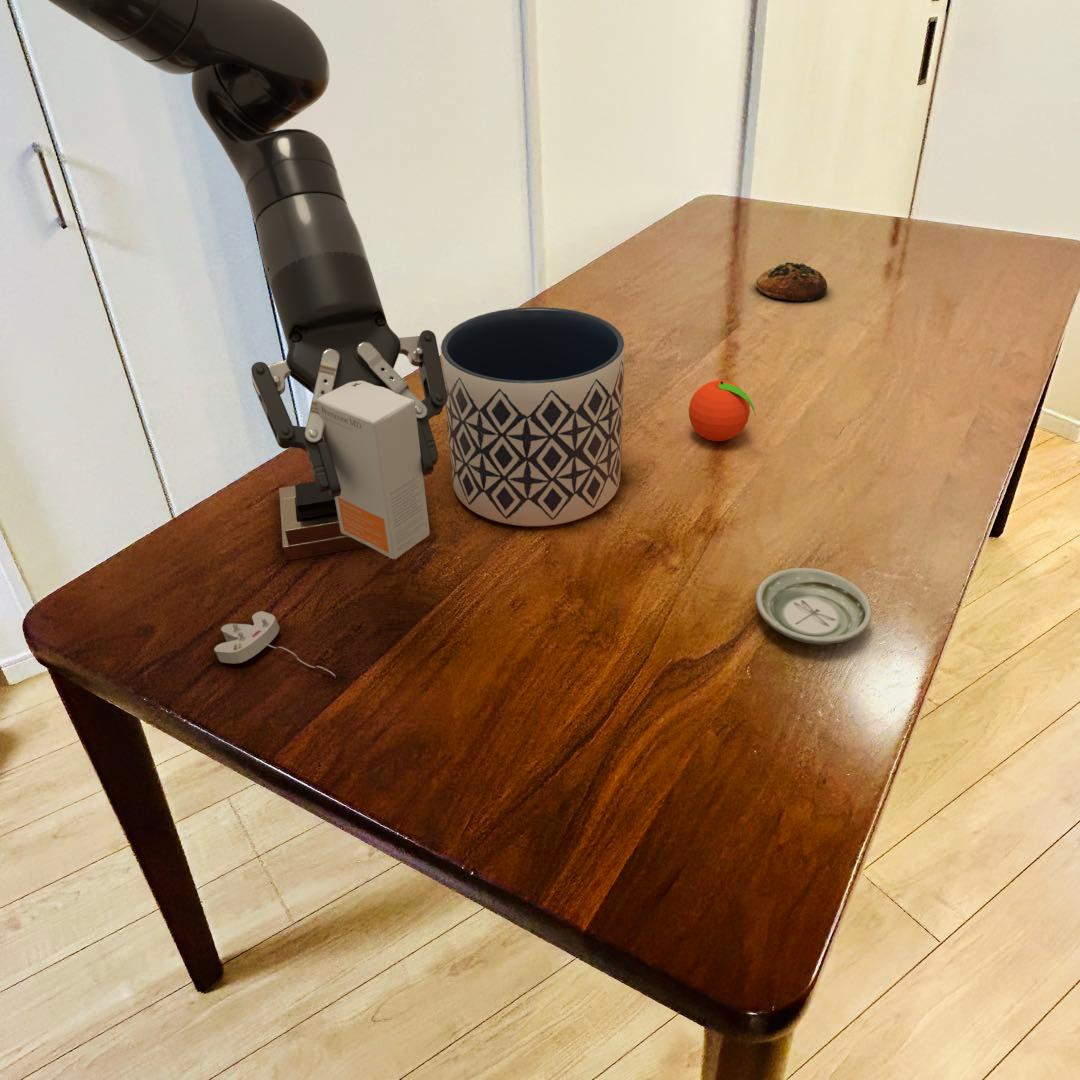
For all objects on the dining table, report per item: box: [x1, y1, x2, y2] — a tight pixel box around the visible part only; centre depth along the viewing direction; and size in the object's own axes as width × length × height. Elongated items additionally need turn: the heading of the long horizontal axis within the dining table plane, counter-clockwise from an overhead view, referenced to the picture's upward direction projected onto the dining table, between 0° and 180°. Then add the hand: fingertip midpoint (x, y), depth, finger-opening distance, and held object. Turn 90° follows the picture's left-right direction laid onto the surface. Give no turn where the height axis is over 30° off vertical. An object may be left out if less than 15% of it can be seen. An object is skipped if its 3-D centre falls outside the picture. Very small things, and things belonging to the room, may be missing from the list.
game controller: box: [214, 610, 337, 679], centre depth 77 cm, size 6×12×3 cm, turn 80°
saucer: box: [755, 567, 873, 645], centre depth 78 cm, size 10×10×2 cm
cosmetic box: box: [317, 381, 431, 560], centre depth 67 cm, size 6×4×12 cm
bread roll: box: [754, 262, 828, 303], centre depth 141 cm, size 11×11×5 cm
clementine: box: [688, 379, 756, 442], centre depth 103 cm, size 8×7×7 cm
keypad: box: [278, 485, 429, 562], centre depth 93 cm, size 14×11×4 cm
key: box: [294, 480, 338, 522], centre depth 89 cm, size 4×4×2 cm
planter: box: [440, 306, 626, 527], centre depth 93 cm, size 18×18×16 cm
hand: (382, 482), depth 66 cm, fingers closed on cosmetic box, 6 cm apart
